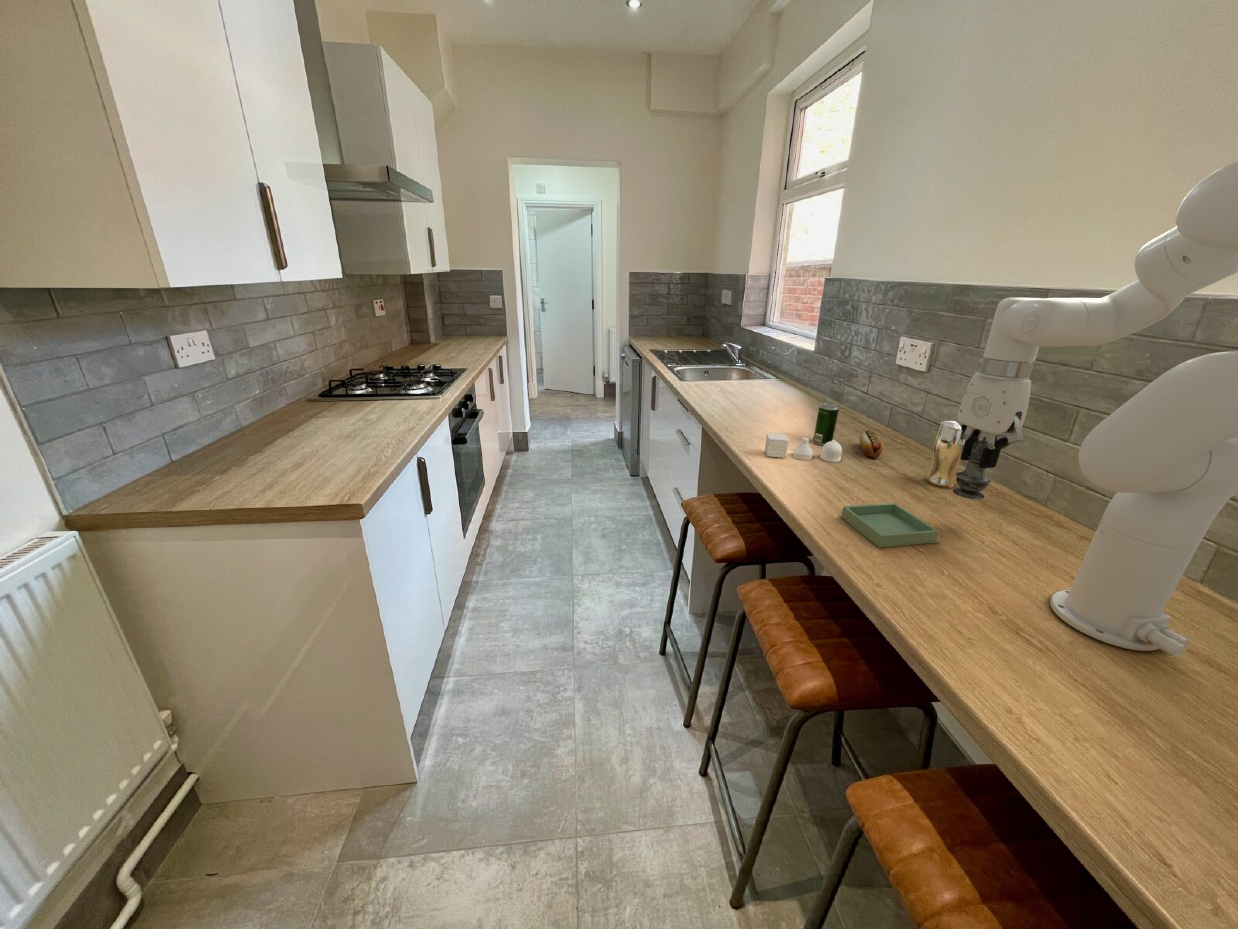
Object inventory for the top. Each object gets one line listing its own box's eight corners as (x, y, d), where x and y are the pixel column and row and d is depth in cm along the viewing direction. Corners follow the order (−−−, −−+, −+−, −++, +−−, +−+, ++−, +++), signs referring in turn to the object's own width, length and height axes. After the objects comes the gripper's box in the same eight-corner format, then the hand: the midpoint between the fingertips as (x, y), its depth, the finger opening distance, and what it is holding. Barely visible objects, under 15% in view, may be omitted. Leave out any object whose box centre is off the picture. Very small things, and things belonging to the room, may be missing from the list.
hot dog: (862, 459, 134) (866, 442, 133) (855, 443, 146) (859, 428, 144) (882, 461, 133) (886, 444, 131) (873, 445, 145) (877, 429, 143)
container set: (767, 457, 134) (769, 439, 132) (764, 451, 139) (766, 432, 137) (842, 462, 132) (846, 443, 130) (837, 455, 136) (841, 437, 134)
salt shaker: (991, 501, 94) (1010, 442, 90) (958, 498, 95) (975, 439, 91) (977, 489, 100) (994, 433, 95) (945, 486, 101) (961, 431, 96)
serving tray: (935, 542, 94) (939, 531, 93) (878, 547, 92) (881, 535, 91) (892, 513, 105) (895, 502, 104) (840, 516, 103) (843, 506, 102)
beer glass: (950, 491, 116) (969, 431, 110) (919, 482, 121) (935, 424, 115) (960, 483, 120) (978, 425, 114) (929, 475, 125) (945, 418, 119)
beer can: (827, 447, 143) (834, 407, 138) (809, 442, 146) (816, 403, 142) (834, 443, 146) (842, 404, 142) (817, 438, 150) (824, 400, 145)
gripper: (950, 362, 96) (928, 450, 102) (1031, 378, 80) (998, 480, 87) (983, 361, 97) (959, 449, 103) (1068, 377, 82) (1033, 478, 88)
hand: (977, 462), depth 95 cm, fingers closed on salt shaker, 3 cm apart
